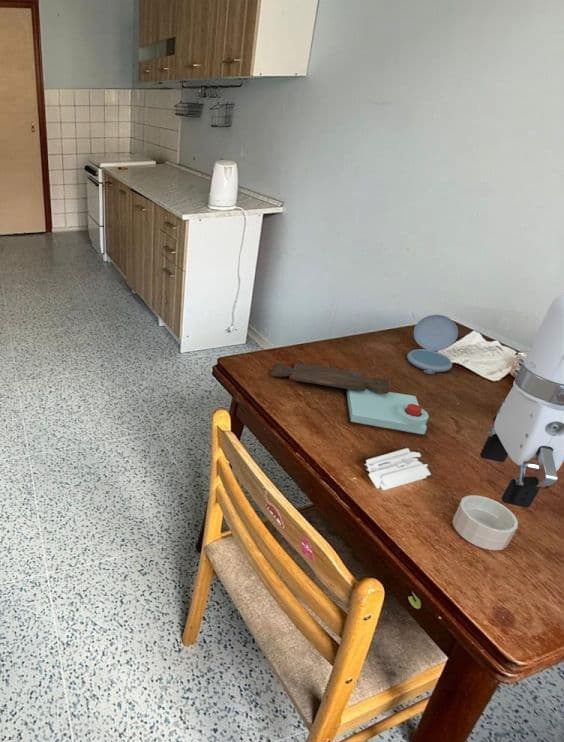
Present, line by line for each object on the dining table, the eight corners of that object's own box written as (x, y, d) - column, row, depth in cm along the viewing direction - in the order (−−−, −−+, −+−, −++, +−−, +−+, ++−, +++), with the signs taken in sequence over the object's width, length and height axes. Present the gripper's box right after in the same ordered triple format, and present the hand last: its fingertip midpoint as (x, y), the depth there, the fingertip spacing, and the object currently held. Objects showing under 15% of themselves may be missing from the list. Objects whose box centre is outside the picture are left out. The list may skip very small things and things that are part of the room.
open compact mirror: (463, 318, 121) (466, 342, 110) (450, 355, 126) (451, 381, 115) (418, 310, 126) (417, 332, 114) (407, 346, 131) (404, 371, 119)
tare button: (418, 411, 100) (420, 405, 99) (420, 418, 97) (423, 412, 97) (404, 408, 100) (406, 402, 100) (406, 415, 98) (408, 409, 97)
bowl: (497, 521, 78) (508, 501, 76) (513, 558, 72) (525, 537, 70) (446, 510, 80) (455, 490, 78) (458, 545, 74) (468, 524, 72)
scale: (414, 403, 107) (418, 390, 106) (426, 435, 97) (431, 422, 96) (346, 392, 112) (349, 379, 110) (350, 422, 102) (354, 409, 100)
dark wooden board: (276, 365, 124) (269, 379, 116) (277, 359, 124) (269, 372, 115) (388, 380, 113) (389, 397, 104) (389, 374, 112) (390, 390, 104)
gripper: (625, 428, 54) (558, 531, 62) (557, 358, 68) (510, 449, 77) (546, 415, 56) (492, 516, 64) (497, 350, 71) (457, 439, 79)
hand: (502, 480), depth 70 cm, fingers open, 9 cm apart
